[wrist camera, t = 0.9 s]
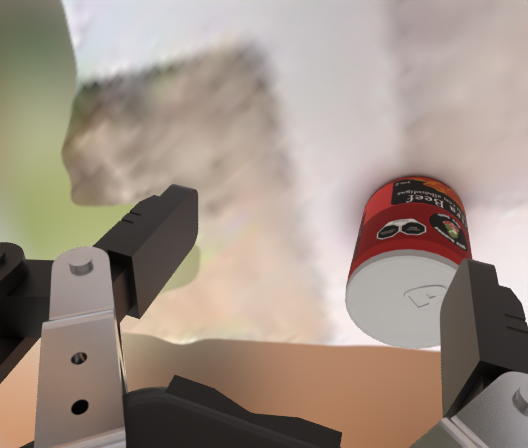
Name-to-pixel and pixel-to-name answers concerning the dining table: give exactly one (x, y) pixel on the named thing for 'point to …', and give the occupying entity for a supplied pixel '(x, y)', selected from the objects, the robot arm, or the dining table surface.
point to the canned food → (406, 261)
